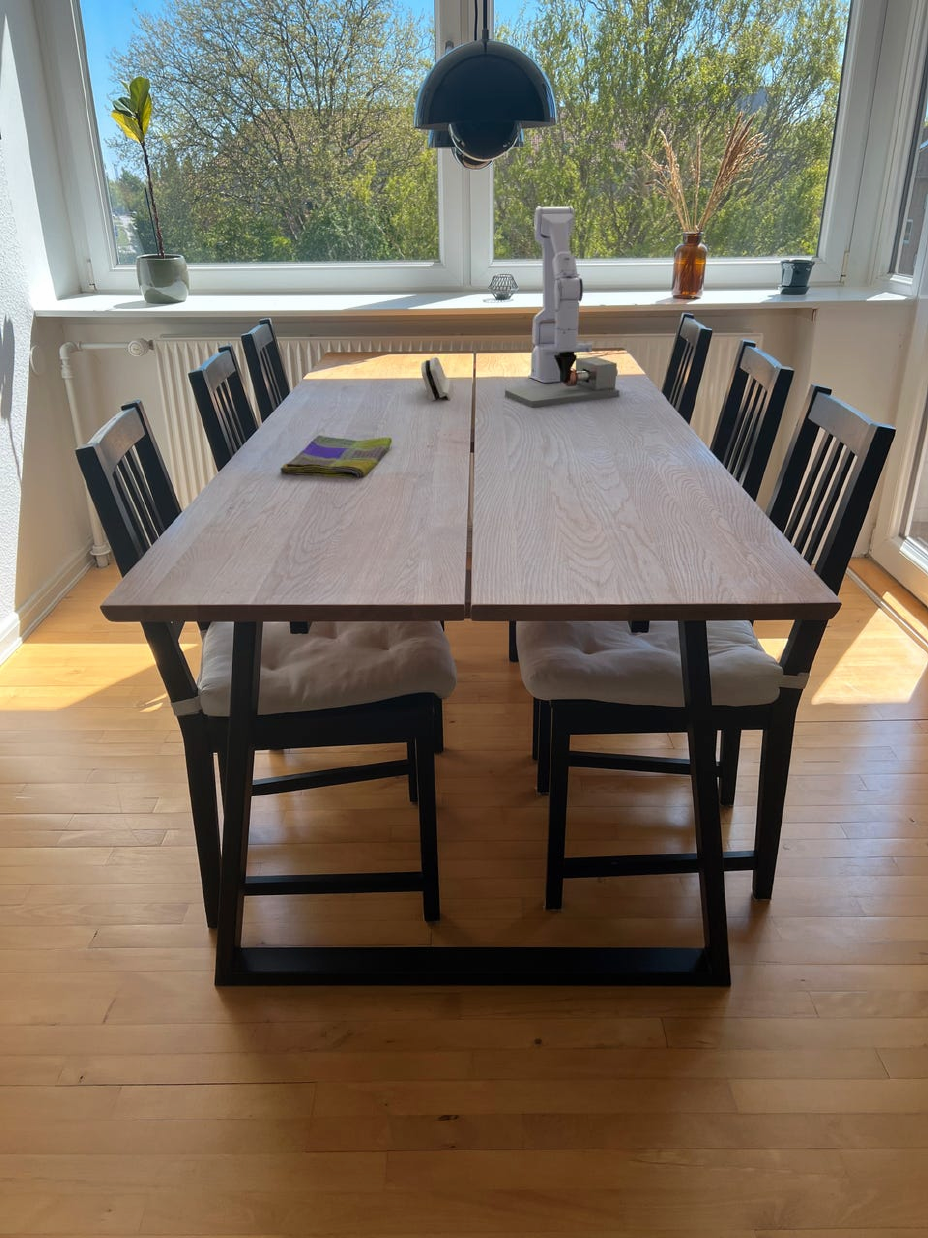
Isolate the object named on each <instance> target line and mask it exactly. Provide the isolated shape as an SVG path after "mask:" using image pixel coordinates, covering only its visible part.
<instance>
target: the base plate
mask: <svg viewBox="0 0 928 1238" xmlns="http://www.w3.org/2000/svg"><path fill="white" fill-rule="evenodd" d="M504 396H505V397H507V398H508V399H509V398H510V399H512V400H514V401H516V402H518V403H521V404H523V405H525V406H528V407H530V408H537V407H545V406H553V405H559V404H560V405H561V404H566V403H567V404H568V403H570V404H571V403H574V402H575V403H576V402H583V401H584V402H585V401H591V400H599V399H600V400H601V399H606V398H607V399H608V398H615V397H619V396H620V389H617V388H615V389H609V390H601V391H594V390H591V389H588V388H586V387H583V386H580V385H578V384H576V385H575V386H569V387H568V386H566V385H565V383H562V382H558V383H553V384H552V383H551V384H550V383H549V384H544V385H536V386H534V385H533V386H526V387H520V388H519V387H517V388H510V389H505V390H504Z"/></svg>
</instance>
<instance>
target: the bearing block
mask: <svg viewBox="0 0 928 1238" xmlns="http://www.w3.org/2000/svg"><path fill="white" fill-rule="evenodd" d="M617 365H618V363H617V362H613V361H611V360H607V359H605V358H601V357H598V356H587V357H579V358H577V359H576V361H575V370H576V372H581V371H589V380H585V381H577V384H578V385H580V386H583V387H586V388H588V389H591V390H594V391H601V390H609V389H616V382H617V380H616V379H617V376H616V368H617ZM617 369H618V368H617Z"/></svg>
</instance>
